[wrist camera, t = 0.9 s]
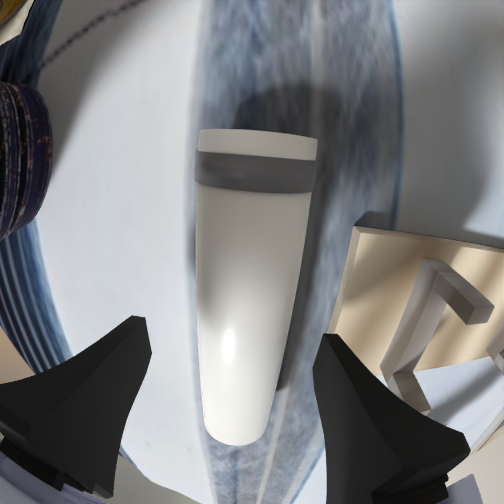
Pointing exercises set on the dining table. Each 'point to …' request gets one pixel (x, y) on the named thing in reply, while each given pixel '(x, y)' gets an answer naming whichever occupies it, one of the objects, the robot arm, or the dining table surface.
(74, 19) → the dining table surface
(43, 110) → the storage jar
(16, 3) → the condiment
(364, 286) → the tube stand
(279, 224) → the tube
